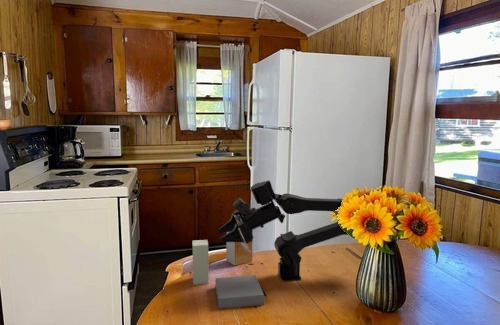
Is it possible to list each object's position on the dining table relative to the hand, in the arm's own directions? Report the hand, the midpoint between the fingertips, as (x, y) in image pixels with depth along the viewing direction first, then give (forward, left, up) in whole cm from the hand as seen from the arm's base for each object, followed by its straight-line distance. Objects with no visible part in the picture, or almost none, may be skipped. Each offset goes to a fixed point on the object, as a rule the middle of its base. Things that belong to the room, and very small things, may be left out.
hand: (219, 235), depth 114 cm
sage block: (+6, -1, -15) cm, 17 cm away
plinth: (-5, +11, -15) cm, 19 cm away
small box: (-9, -15, -16) cm, 23 cm away
